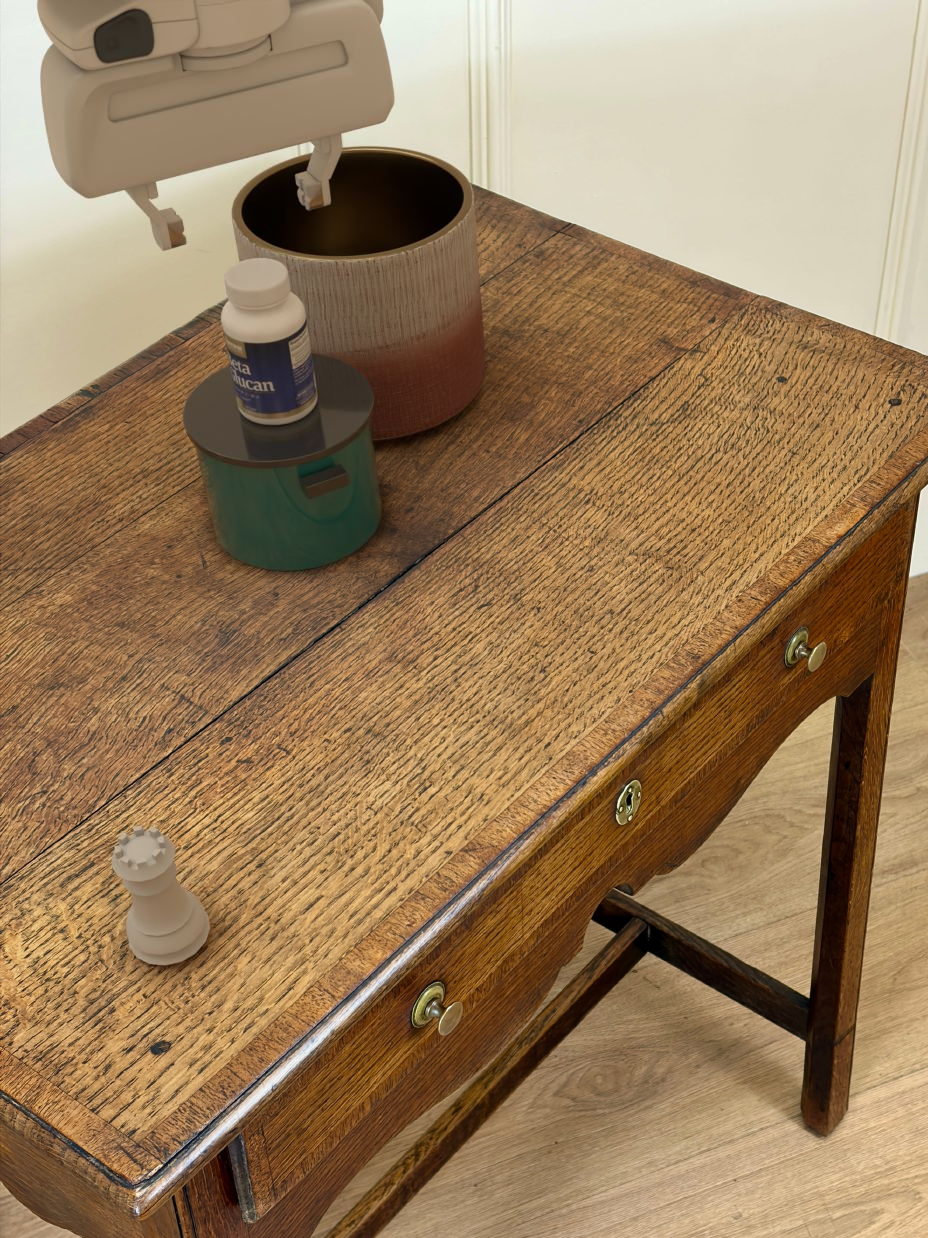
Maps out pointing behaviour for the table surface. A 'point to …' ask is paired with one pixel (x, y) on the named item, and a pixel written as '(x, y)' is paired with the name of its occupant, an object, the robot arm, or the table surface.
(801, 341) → the table surface
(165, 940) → the rook chess piece
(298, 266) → the planter
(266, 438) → the pot
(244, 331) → the pill bottle
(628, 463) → the table surface
